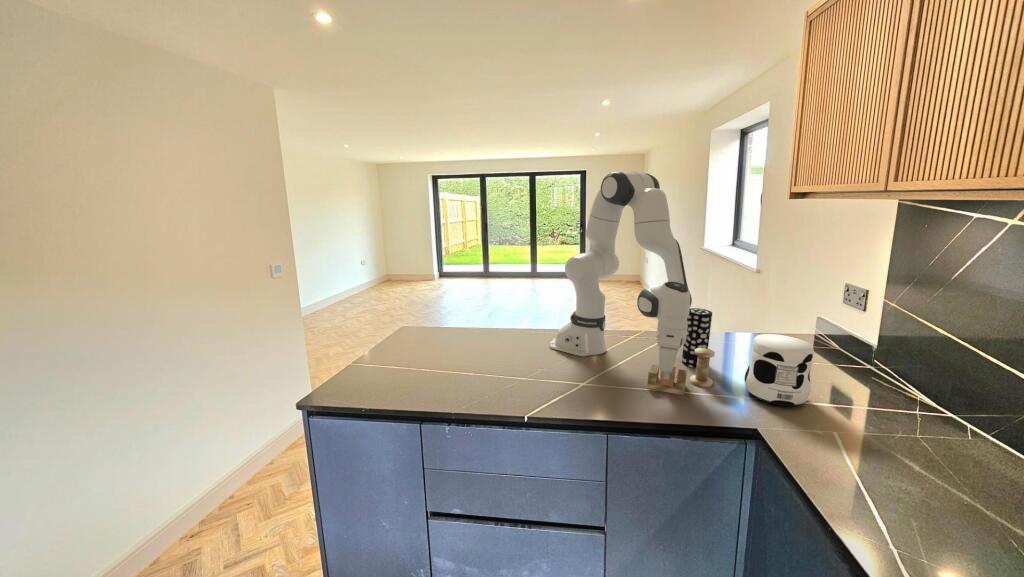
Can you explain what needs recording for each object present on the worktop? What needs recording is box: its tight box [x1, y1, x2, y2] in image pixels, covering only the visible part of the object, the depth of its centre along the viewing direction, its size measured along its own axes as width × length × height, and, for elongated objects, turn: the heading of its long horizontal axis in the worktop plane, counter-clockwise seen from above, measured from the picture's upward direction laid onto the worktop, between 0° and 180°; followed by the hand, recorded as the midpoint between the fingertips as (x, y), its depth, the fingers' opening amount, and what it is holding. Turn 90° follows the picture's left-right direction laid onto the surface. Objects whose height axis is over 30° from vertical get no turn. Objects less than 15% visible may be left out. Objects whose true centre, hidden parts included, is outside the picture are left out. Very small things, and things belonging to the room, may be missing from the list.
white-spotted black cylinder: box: [681, 307, 713, 369], centre depth 155 cm, size 8×8×20 cm
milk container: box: [744, 333, 815, 407], centre depth 130 cm, size 17×17×18 cm
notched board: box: [646, 364, 688, 396], centre depth 138 cm, size 11×7×6 cm, turn 65°
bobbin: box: [689, 348, 715, 388], centre depth 141 cm, size 7×7×11 cm
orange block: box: [659, 366, 676, 387], centre depth 137 cm, size 4×4×5 cm
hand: (667, 374), depth 137 cm, fingers open, 5 cm apart
